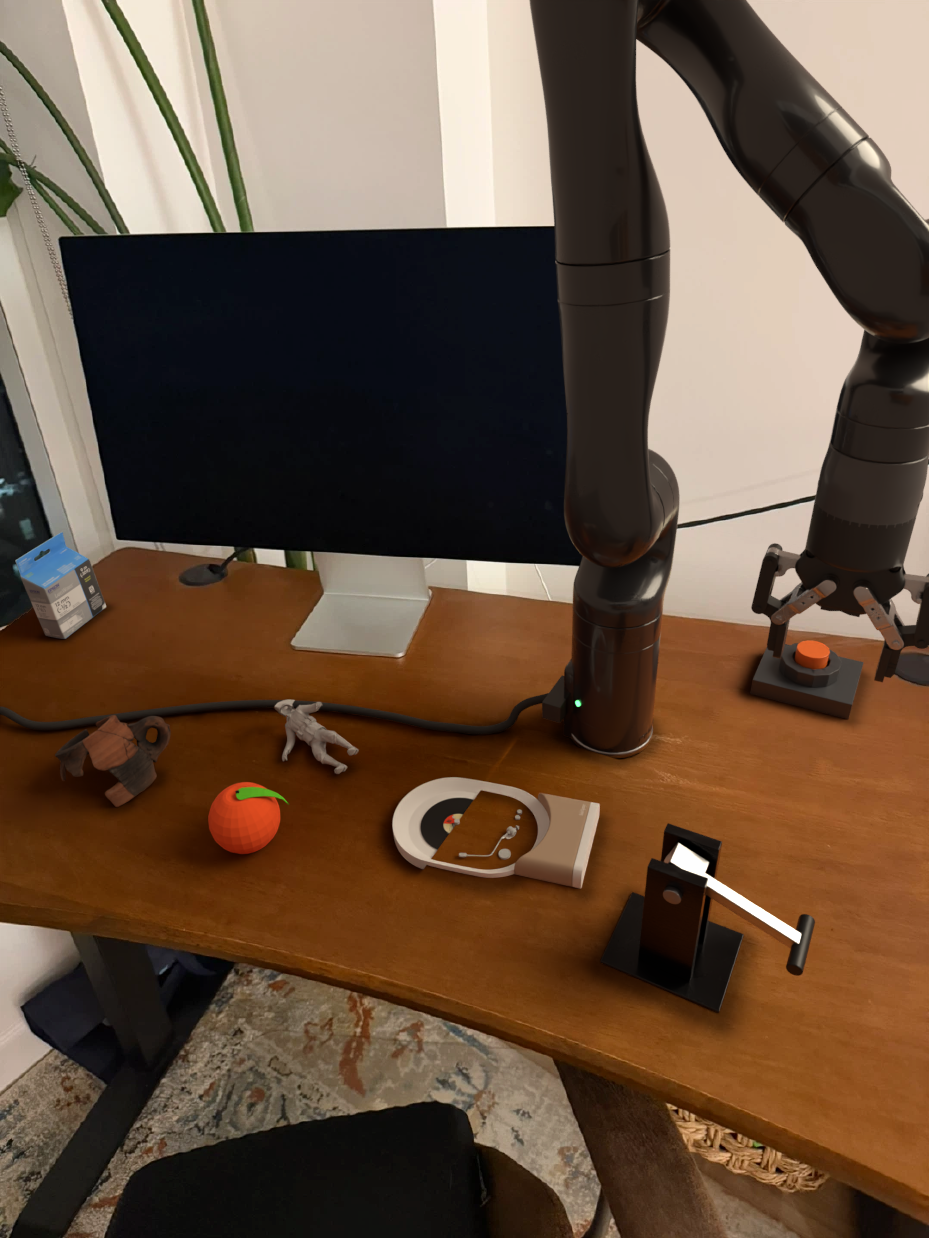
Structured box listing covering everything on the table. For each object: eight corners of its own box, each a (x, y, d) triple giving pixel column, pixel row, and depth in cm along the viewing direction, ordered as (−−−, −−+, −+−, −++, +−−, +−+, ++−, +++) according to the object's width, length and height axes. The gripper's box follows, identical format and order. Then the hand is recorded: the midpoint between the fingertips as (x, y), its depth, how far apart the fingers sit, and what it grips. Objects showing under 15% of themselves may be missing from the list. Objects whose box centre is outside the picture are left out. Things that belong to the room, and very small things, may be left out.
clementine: (297, 810, 89) (286, 760, 85) (295, 861, 83) (283, 810, 79) (219, 821, 88) (205, 771, 84) (212, 873, 82) (196, 822, 79)
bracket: (742, 942, 73) (763, 840, 66) (717, 1020, 67) (738, 917, 60) (631, 899, 77) (640, 799, 70) (599, 969, 72) (605, 867, 65)
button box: (750, 694, 101) (754, 667, 99) (767, 654, 108) (771, 628, 105) (848, 719, 96) (855, 692, 94) (860, 676, 103) (866, 649, 101)
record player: (579, 882, 75) (372, 839, 81) (578, 905, 77) (376, 861, 83) (602, 791, 85) (415, 758, 90) (601, 813, 86) (417, 779, 92)
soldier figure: (320, 796, 92) (244, 731, 96) (340, 794, 97) (266, 732, 100) (360, 737, 92) (282, 674, 96) (378, 738, 96) (303, 678, 100)
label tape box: (65, 640, 119) (36, 564, 112) (42, 636, 120) (12, 560, 113) (108, 608, 125) (83, 534, 119) (86, 604, 127) (60, 530, 120)
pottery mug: (92, 828, 89) (44, 767, 87) (93, 806, 98) (49, 749, 95) (193, 759, 92) (148, 698, 90) (185, 744, 101) (144, 687, 99)
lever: (806, 930, 67) (822, 916, 65) (793, 981, 63) (810, 968, 62) (670, 845, 69) (683, 829, 68) (651, 889, 66) (663, 874, 64)
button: (791, 665, 100) (794, 653, 99) (797, 649, 102) (800, 637, 101) (824, 673, 98) (826, 661, 97) (829, 656, 101) (832, 644, 100)
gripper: (763, 504, 67) (737, 668, 76) (966, 536, 61) (912, 710, 70) (781, 468, 73) (755, 625, 81) (969, 495, 67) (918, 661, 76)
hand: (827, 664), depth 76 cm, fingers open, 8 cm apart
